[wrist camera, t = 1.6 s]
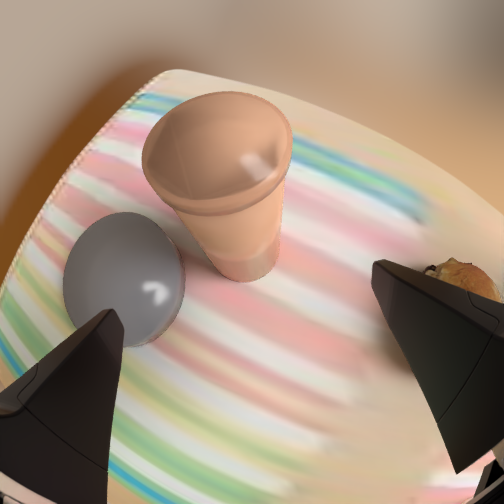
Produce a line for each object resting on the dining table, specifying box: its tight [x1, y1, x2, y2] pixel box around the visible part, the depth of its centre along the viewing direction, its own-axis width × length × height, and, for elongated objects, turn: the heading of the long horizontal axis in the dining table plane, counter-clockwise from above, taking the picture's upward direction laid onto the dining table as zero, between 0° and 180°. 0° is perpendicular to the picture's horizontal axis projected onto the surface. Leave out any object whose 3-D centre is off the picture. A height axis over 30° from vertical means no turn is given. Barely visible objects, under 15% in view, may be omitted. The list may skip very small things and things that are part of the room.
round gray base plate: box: [63, 212, 185, 347], centre depth 21 cm, size 11×11×2 cm
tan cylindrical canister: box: [142, 91, 293, 282], centre depth 16 cm, size 6×6×13 cm
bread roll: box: [423, 258, 502, 303], centre depth 17 cm, size 10×10×8 cm
